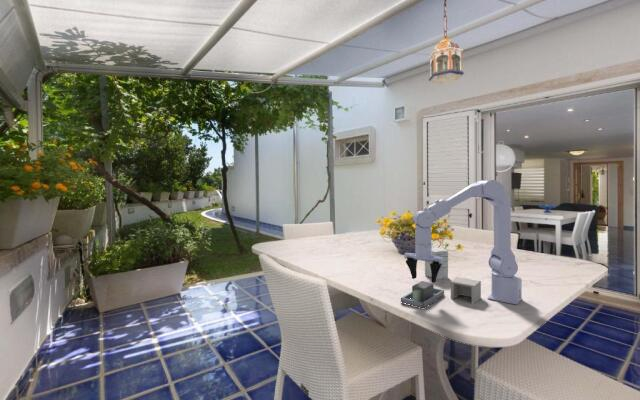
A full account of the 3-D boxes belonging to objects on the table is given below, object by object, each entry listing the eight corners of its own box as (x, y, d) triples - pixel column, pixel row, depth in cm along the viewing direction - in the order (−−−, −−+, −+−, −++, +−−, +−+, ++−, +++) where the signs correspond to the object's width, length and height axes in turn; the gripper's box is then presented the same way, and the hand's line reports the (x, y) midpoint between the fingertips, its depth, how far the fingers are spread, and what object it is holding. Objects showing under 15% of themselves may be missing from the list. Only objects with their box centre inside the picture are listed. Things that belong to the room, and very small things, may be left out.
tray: (444, 295, 126) (444, 290, 126) (423, 309, 113) (423, 303, 113) (422, 290, 132) (422, 285, 132) (400, 303, 119) (400, 297, 119)
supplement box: (424, 275, 153) (424, 248, 152) (437, 273, 155) (437, 247, 155) (435, 280, 146) (435, 251, 145) (448, 278, 148) (448, 250, 148)
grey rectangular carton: (421, 304, 116) (421, 290, 116) (409, 301, 119) (409, 287, 119) (433, 296, 124) (433, 283, 124) (421, 293, 127) (421, 281, 127)
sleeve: (474, 303, 118) (474, 285, 117) (450, 298, 123) (450, 281, 123) (480, 297, 123) (480, 281, 122) (457, 293, 128) (457, 277, 128)
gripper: (400, 243, 124) (400, 279, 125) (438, 247, 114) (438, 286, 115) (409, 240, 129) (409, 274, 130) (446, 244, 119) (446, 281, 120)
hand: (423, 280), depth 123 cm, fingers open, 7 cm apart
